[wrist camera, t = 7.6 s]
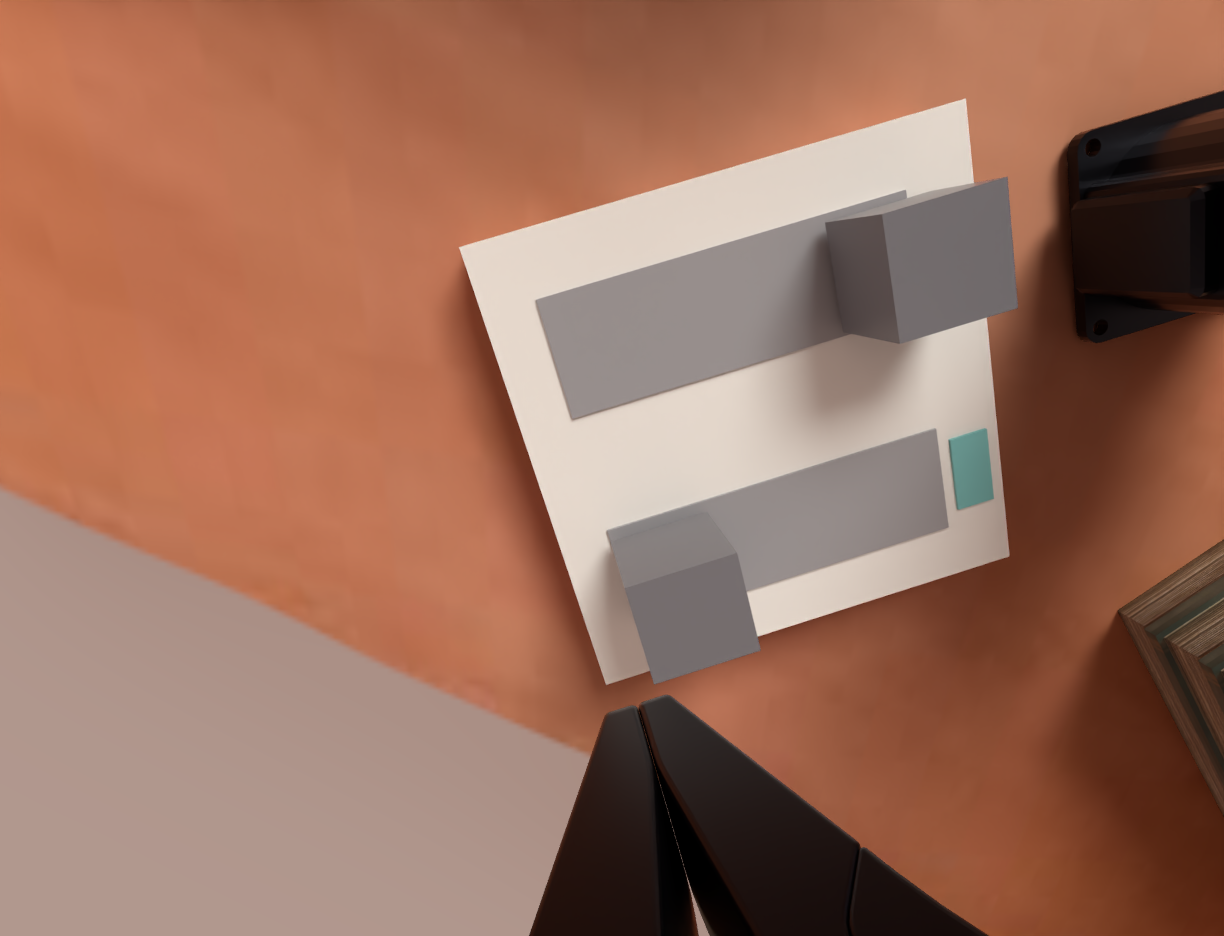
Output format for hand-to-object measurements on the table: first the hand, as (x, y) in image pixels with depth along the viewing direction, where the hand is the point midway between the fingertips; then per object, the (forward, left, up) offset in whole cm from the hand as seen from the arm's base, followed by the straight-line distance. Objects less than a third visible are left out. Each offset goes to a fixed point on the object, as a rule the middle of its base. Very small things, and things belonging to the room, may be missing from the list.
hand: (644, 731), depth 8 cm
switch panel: (-6, 0, -14) cm, 15 cm away
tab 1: (-2, +4, -11) cm, 12 cm away
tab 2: (-10, -3, -11) cm, 15 cm away
